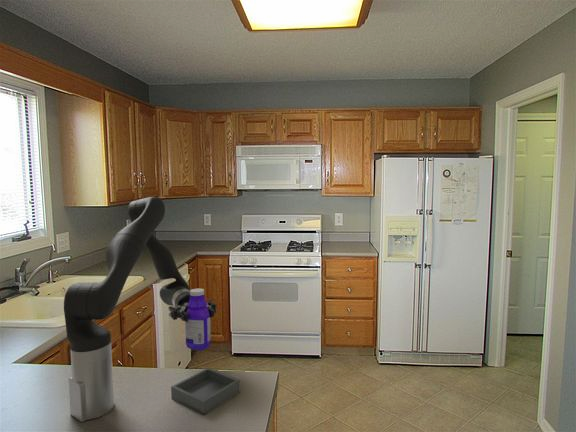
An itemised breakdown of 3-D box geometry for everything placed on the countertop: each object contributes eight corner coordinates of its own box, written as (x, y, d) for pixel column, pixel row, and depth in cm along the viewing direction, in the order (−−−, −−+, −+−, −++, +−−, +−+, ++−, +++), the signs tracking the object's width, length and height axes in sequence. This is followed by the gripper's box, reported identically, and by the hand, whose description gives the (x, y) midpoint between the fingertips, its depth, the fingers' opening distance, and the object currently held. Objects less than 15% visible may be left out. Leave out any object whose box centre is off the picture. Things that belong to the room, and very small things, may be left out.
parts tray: (203, 415, 92) (203, 401, 92) (171, 399, 100) (171, 386, 99) (239, 392, 103) (239, 380, 102) (208, 379, 110) (207, 367, 110)
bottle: (214, 344, 112) (212, 288, 111) (205, 352, 106) (203, 293, 105) (192, 342, 114) (190, 286, 113) (182, 349, 108) (180, 291, 107)
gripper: (162, 294, 118) (174, 307, 104) (206, 288, 125) (222, 300, 111) (163, 317, 119) (175, 333, 104) (207, 309, 126) (223, 324, 111)
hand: (199, 316), depth 108 cm, fingers closed on bottle, 7 cm apart
